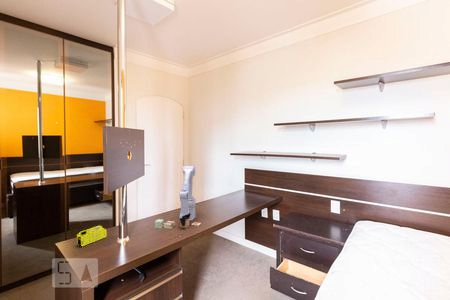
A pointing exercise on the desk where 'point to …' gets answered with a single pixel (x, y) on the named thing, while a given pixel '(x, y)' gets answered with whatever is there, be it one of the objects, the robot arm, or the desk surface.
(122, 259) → the desk surface
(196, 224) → the tile
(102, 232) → the yellow toy chassis
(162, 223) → the sage cube
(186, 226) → the terracotta cube
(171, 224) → the maple base
